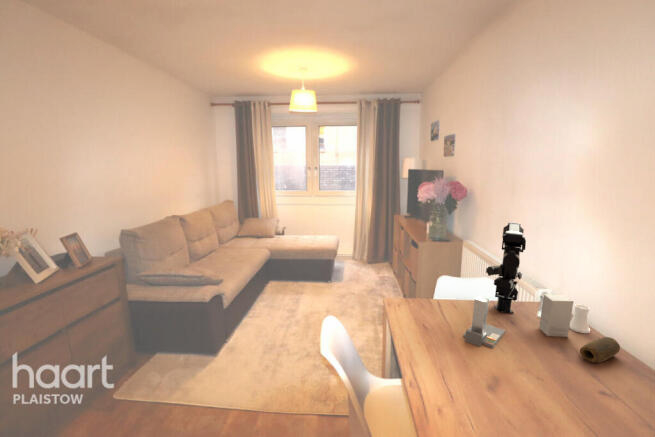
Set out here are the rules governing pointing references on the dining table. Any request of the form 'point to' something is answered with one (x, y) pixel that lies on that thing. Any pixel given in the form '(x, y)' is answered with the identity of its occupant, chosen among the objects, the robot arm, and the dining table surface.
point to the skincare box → (556, 315)
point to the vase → (580, 319)
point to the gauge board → (491, 332)
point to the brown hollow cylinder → (600, 349)
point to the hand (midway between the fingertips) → (505, 297)
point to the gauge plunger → (480, 316)
